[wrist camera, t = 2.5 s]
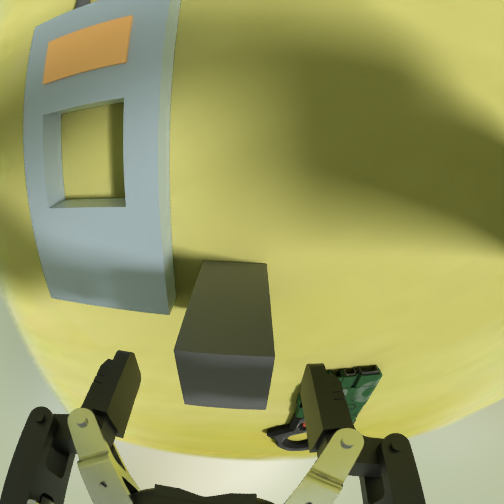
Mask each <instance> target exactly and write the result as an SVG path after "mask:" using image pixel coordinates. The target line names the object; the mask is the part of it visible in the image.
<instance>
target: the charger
mask: <svg viewBox="0 0 504 504" xmlns="http://www.w3.org/2000/svg"><path fill="white" fill-rule="evenodd" d="M174 354H175V359H176V365H177V370H178V375H179V380H180V385H181V389H182V394H183V399H184V403H185V404H188V405H196V406H206V407H218V408H232V409H257V410H266V406H267V400H268V395H269V389H270V383H271V377H272V371H273V365H274V359H275V352H274V340H273V328H272V317H271V306H270V295H269V284H268V273H267V264H263V263H243V262H224V261H205V260H203V263H202V266H201V269H200V272H199V274H198V277H197V280H196V283H195V286H194V289H193V292H192V295H191V298H190V301H189V304H188V307H187V310H186V313H185V316H184V319H183V322H182V326H181V329H180V332H179V335H178V338H177V341H176V345H175V348H174Z"/></svg>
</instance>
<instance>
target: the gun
mask: <svg viewBox="0 0 504 504" xmlns="http://www.w3.org/2000/svg"><path fill="white" fill-rule="evenodd" d="M326 373H327V374H332V372H331V370H328V371H327V370H326ZM335 376H336V377H337V378H338V379H339V380H340V382H341V385H342V388H343V393H344V395H345V400H346V401H347V405H348V408H349V412H350V415H351V418H352V422H353V424H354V422H355V421H356V417H357V415H358V413H359V412H360V410H361V409H362V407H363V406H364V405H365V404H366V402H367V400H368V399H369V397H370V395H371V394H372V392H373V390H374V389H375V387H376V385H377V384H378V382H379V380H380V378H381V377H382V373H381V371H380V369H379V368H378V367H377V365H375V367H374V369H372V370H361V368H360V366H359V367H358V369H357V371H355V368H353V369H352V371H351V373H346V371H345V368H344V369H342V370H341V369H340V371H339V373H338V375H335ZM306 432H307V431H306V425H305V419H304V413H303V407H302V400H301V394H300V393H299V395H298V398H297V408H296V410H295V413H294V415H293V418H292V420H291V422H290V423H289V424H287V425H280V426H277V427H274V428H270V429H268V430H267V436H269V437H271V438H273V439H275V440H276V445H277V446H278V447H280V448H282V449H285V450H288V451H303V450H309V444H308V439H307V440H303V441H291V440H288V439H287V438H288V437H289V436H292V435H295V434H300V433H306Z"/></svg>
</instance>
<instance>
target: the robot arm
mask: <svg viewBox="0 0 504 504" xmlns="http://www.w3.org/2000/svg"><path fill="white" fill-rule="evenodd" d="M140 382H141V374H140V370H139V367H138V364H137V361H136V357H135V354H134V353H133V352H127V351H121V350H118V351H117V352H116V354H115V356H114V359H113V360H111V359H108V360H106V361H105V362H104V363H103V364H102V365H101V366H100V368H99V370H98V373H97V376H96V377H95V379H94V382H93V383H92V385H91V387H90V389H89V392H88V394H87V396H86V398H85V400H84V403H83V405H82V406H81V408H77V409H75V410H73V411H72V412H71V413H70V414H52V412H51V411H50V410H49V409H48V408H46V407H37V408H35V409H33V410H32V411H31V413H30V415H29V417H28V419H27V422H26V424H25V427H24V429H23V431H22V434H21V437H20V439H19V442H18V444H17V447H16V450H15V452H14V455H13V458H12V461H11V464H10V467H9V470H8V474H7V477H6V480H5V483H4V487H3V491H2V495H1V499H0V504H63V503H64V498H65V494H66V489H67V485H68V481H69V476H70V472H71V468H72V465H73V461H74V457H75V454H78V457H79V461H78V462H77V464H78V468H79V471H80V473H81V476H82V478H83V481H84V483H85V485H86V488H87V490H88V493H89V495H90V497H91V499H92V501H93V503H94V504H274V503H272V502H269V501H267V500H263V499H260V498H257V495H256V494H233V493H230V494H225V495H218V496H209V497H202V496H199V495H196V494H193V493H191V492H188V491H185V490H182V489H180V488H173V487H168V486H162V485H157V484H155V488H151V489H145V490H141V491H140V489H139V487H138V486H137V484H136V483H135V481H134V480H133V478H132V477H131V476H130V474H129V472H128V470H127V468H126V467H125V465H124V463H123V461H122V459H121V457H120V455H119V452H118V450H117V448H116V446H115V444H114V439H115V436H117V437H121V438H123V436H124V433H125V430H126V426H127V423H128V420H129V417H130V413H131V410H132V407H133V404H134V401H135V398H136V395H137V392H138V389H139V386H140ZM300 394H301V400H302V407H303V413H304V419H305V425H306V431H307V438H308V444H309V451H310V453H312V452H317V456H318V459H317V460H316V462H315V464H314V465H313V466H312V468H311V469H310V471H309V472H308V473H307V475H306V476H305V477H304V479H303V480H302V481H301V483H300V484H299V485H298V487H297V488H296V489H295V490H294V492H293V493H292V494H291V496H290V497H289V498H288V499H287V500H286V502H285V503H284V504H333V502H334V501H335V499H336V498H337V496H338V495H339V493H340V491H341V489H342V487H343V482H344V480H345V479H346V477H347V475H352V476H359V478H360V484H361V491H362V498H363V504H426V503H425V499H424V494H423V490H422V486H421V482H420V478H419V474H418V470H417V467H416V463H415V459H414V456H413V452H412V449H411V446H410V443H409V440H408V439H407V438H406V437H405V436H404V435H402V434H398V433H393V434H390V435H388V436H386V437H385V438H384V439H380V438H370V437H366V436H363V435H361V434H360V433H359V432H358V431H357V430H356V429H355V428H354V425H353V422H352V418H351V415H350V412H349V408H348V405H347V401H346V400H345V395H344V393H343V388H342V385H341V382H340V380H339V379H338V378H337V377H336V376H335V374H327V373H326V369H325V366H324V364H323V363H320V364H307V365H306V368H305V372H304V375H303V379H302V382H301V388H300Z"/></svg>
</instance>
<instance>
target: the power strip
mask: <svg viewBox="0 0 504 504" xmlns="http://www.w3.org/2000/svg"><path fill="white" fill-rule="evenodd" d="M180 4H181V0H99V1H96V2H93V3H90V0H77V3H76V6H75V9H74V10H71V11H69V12H66V13H64V14H62V15H60V16H57V17H55V18H53V19H51V20H49V21H46V22H44V23H42V24H40V25H38V26H36V27H35V30H34V34H33V39H32V44H31V49H30V55H29V61H28V68H27V76H26V85H25V96H24V116H23V145H24V165H25V177H26V187H27V195H28V202H29V209H30V215H31V221H32V226H33V231H34V236H35V241H36V245H37V249H38V253H39V258H40V261H41V265H42V269H43V272H44V276H45V279H46V283H47V286H48V289H49V292H50V295H51V298H55V299H60V300H65V301H71V302H77V303H83V304H89V305H95V306H102V307H108V308H115V309H123V310H130V311H138V312H147V313H156V314H165V315H170V312H171V310H172V307H173V305H174V302H175V300H176V288H175V277H174V265H173V252H172V236H171V217H170V184H169V139H170V107H171V89H172V74H173V62H174V51H175V42H176V33H177V25H178V18H179V11H180ZM122 102H124V115H123V162H124V185H125V198H100V199H70V200H65V193H64V183H63V171H62V153H61V114H64V113H68V112H73V111H77V110H82V109H87V108H92V107H97V106H103V105H109V104H115V103H122Z"/></svg>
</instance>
